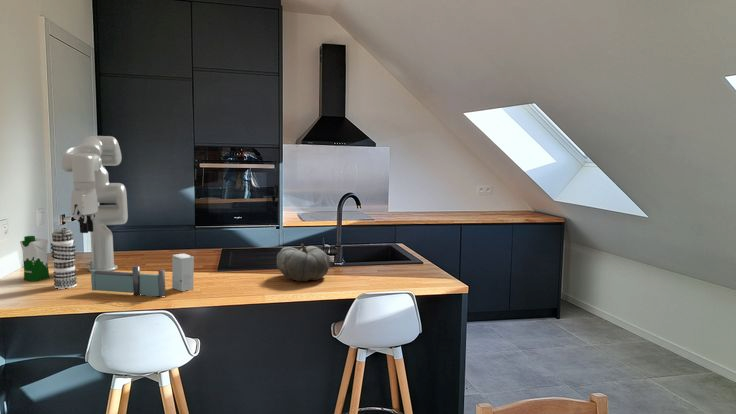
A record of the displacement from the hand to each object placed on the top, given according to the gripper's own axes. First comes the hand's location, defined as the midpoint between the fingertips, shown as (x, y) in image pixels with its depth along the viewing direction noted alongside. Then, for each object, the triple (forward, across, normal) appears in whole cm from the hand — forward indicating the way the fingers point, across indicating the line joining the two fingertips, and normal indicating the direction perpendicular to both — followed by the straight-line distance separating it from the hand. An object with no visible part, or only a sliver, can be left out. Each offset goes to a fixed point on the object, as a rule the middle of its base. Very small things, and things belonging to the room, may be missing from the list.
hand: (86, 231), depth 203 cm
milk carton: (+27, -20, -42) cm, 54 cm away
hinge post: (+27, -7, +16) cm, 32 cm away
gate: (+26, -7, +5) cm, 28 cm away
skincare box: (+27, -19, +30) cm, 45 cm away
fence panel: (+27, -7, +23) cm, 36 cm away
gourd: (+27, -47, +76) cm, 93 cm away
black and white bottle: (+27, -12, -21) cm, 37 cm away
